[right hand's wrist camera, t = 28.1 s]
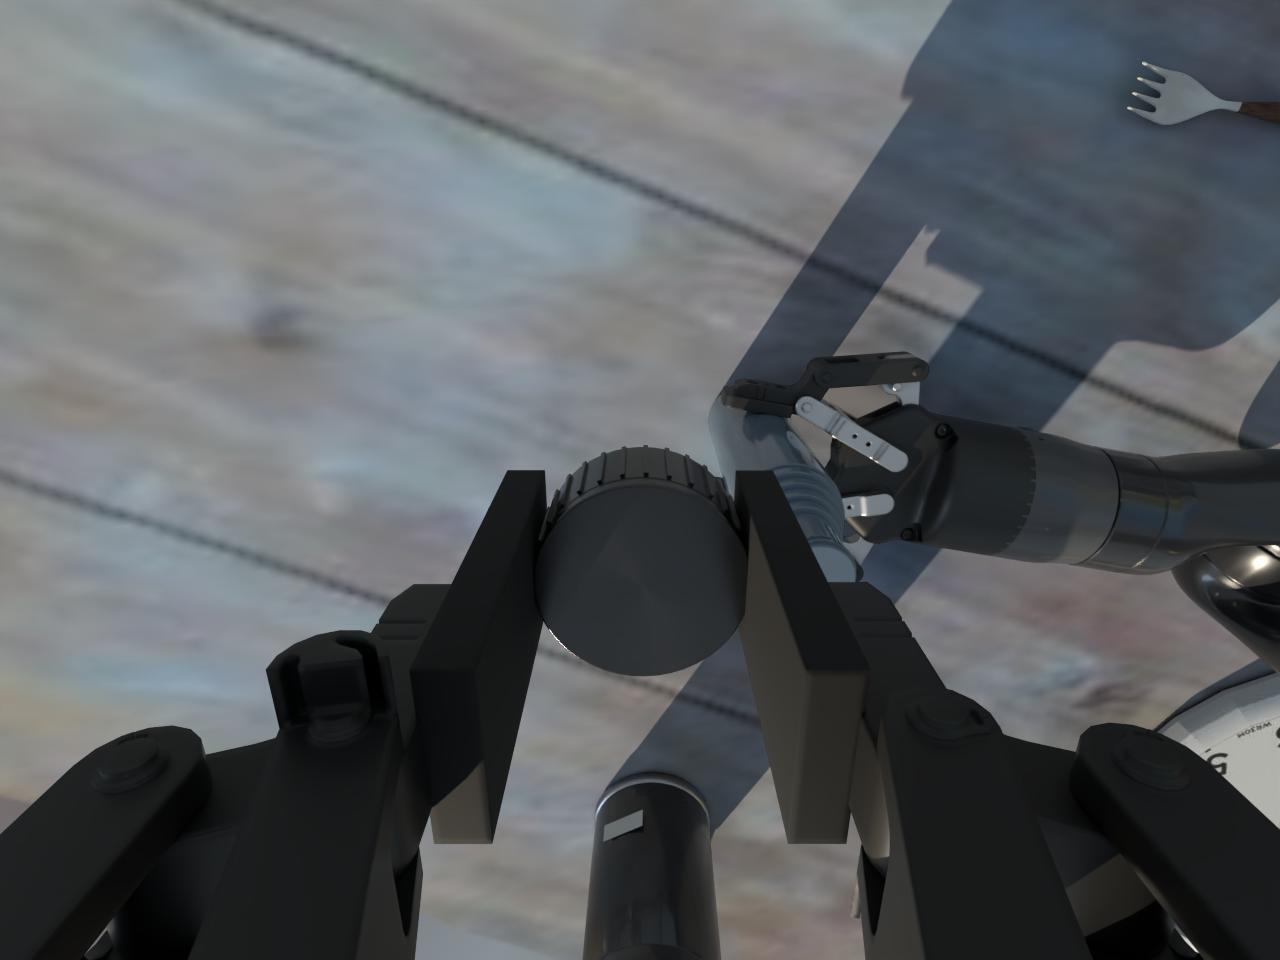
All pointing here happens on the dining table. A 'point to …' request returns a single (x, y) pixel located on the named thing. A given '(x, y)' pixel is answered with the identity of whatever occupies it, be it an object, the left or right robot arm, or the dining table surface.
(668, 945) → the left robot arm
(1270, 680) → the wall clock
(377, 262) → the dining table surface
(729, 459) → the bottle
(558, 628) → the cap
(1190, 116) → the fork
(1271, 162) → the dining table surface
